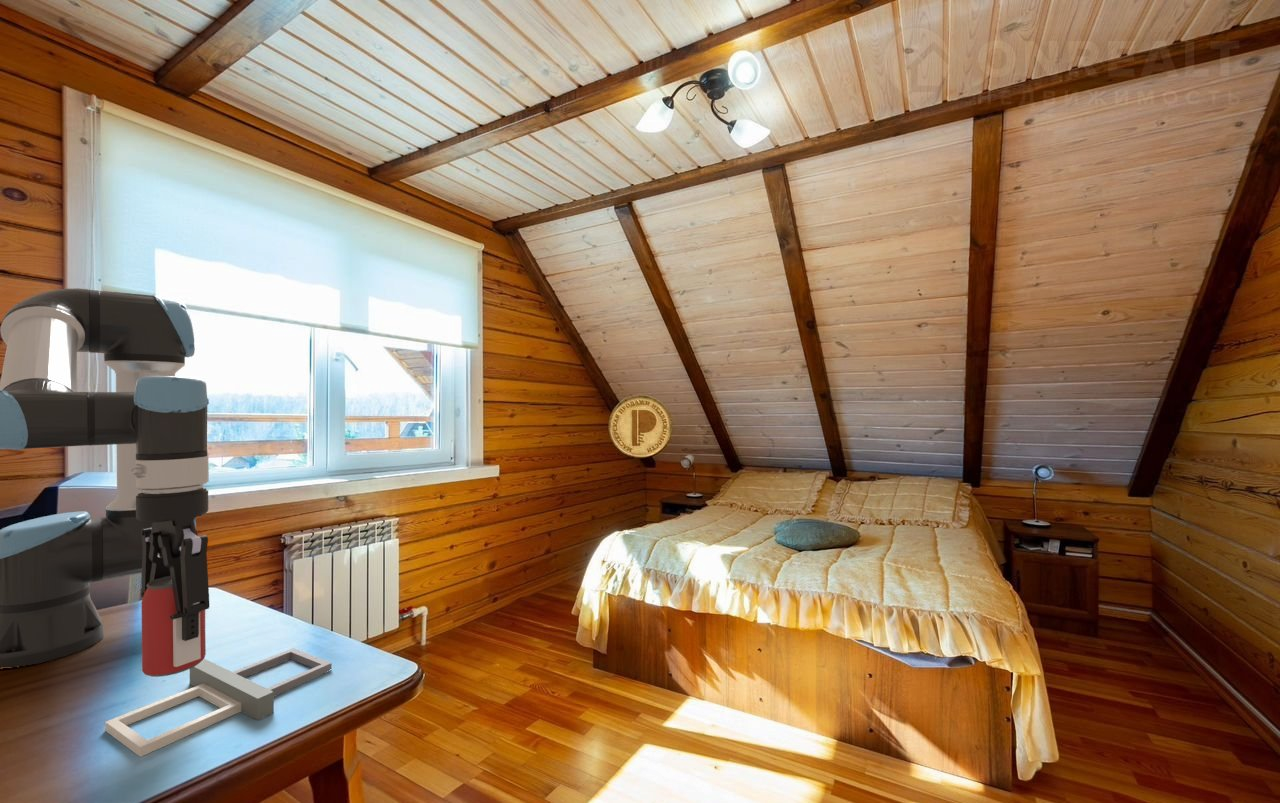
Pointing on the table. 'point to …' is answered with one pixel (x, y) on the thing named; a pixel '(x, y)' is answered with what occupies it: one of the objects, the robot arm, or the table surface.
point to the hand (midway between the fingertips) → (174, 655)
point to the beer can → (162, 630)
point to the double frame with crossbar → (216, 698)
